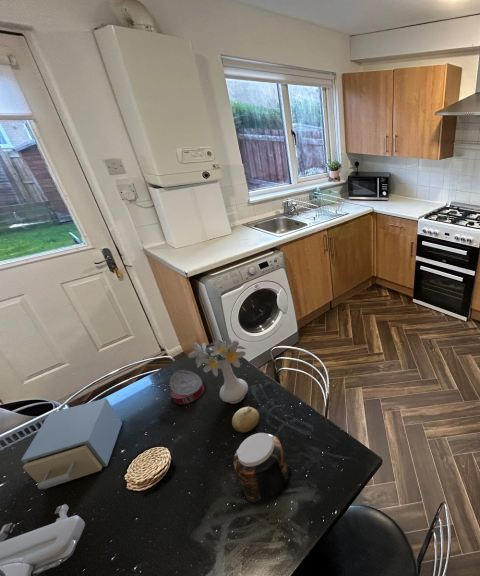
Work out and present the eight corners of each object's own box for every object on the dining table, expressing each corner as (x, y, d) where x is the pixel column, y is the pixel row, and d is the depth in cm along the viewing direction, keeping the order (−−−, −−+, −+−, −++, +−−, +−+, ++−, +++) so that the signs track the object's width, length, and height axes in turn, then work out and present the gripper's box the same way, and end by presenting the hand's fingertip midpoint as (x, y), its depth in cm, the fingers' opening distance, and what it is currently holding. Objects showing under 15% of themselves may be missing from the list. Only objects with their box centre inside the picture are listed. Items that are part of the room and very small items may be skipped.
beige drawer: (95, 486, 84) (77, 465, 79) (34, 507, 79) (11, 485, 75) (116, 428, 99) (102, 407, 94) (66, 443, 95) (49, 422, 90)
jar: (270, 511, 79) (258, 477, 72) (234, 494, 83) (219, 460, 75) (296, 467, 89) (288, 434, 81) (263, 454, 92) (252, 421, 85)
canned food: (197, 391, 120) (203, 367, 119) (204, 404, 113) (210, 379, 112) (162, 394, 112) (168, 369, 111) (167, 409, 105) (173, 382, 104)
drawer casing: (107, 466, 90) (87, 440, 84) (45, 486, 85) (20, 460, 79) (122, 422, 102) (106, 397, 97) (69, 438, 98) (49, 413, 92)
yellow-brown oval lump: (249, 439, 97) (244, 424, 93) (229, 432, 99) (223, 417, 96) (265, 418, 103) (261, 403, 100) (246, 412, 106) (241, 397, 102)
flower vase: (218, 383, 117) (198, 330, 105) (266, 384, 116) (251, 331, 104) (198, 412, 106) (173, 356, 94) (251, 414, 105) (233, 358, 93)
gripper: (61, 554, 63) (86, 489, 74) (-82, 610, 56) (-31, 529, 67) (76, 567, 66) (98, 503, 77) (-58, 622, 59) (-13, 542, 70)
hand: (37, 515), depth 72 cm, fingers open, 8 cm apart
